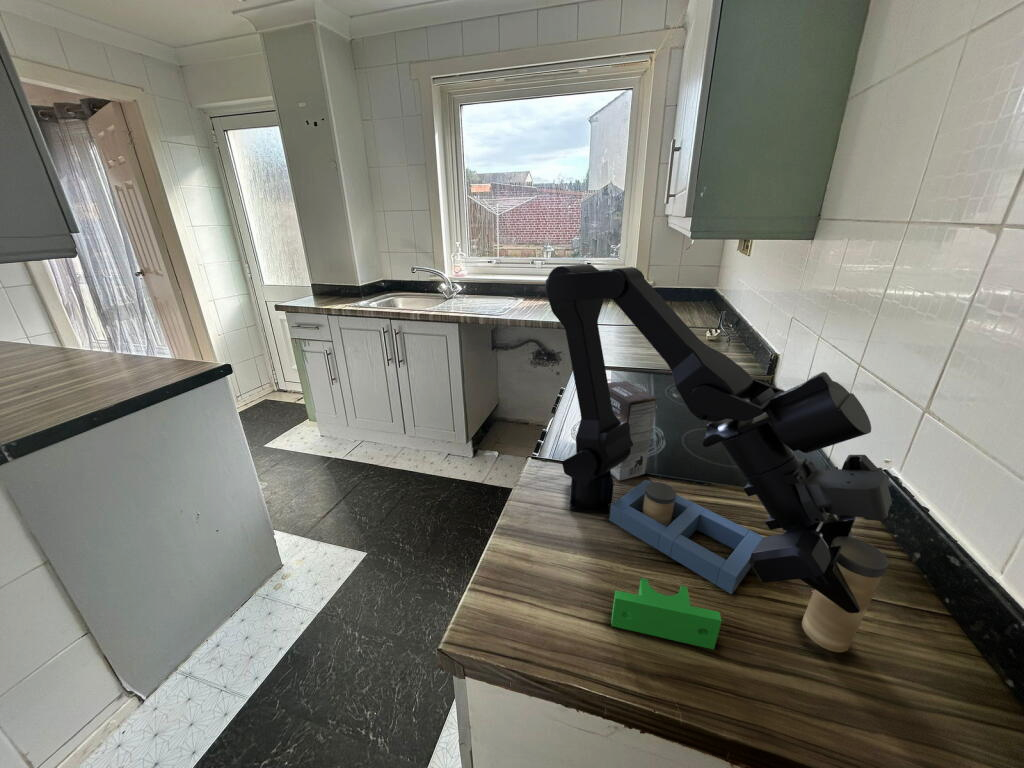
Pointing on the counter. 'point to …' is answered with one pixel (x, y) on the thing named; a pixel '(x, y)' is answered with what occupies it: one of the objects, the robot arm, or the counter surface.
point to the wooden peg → (862, 577)
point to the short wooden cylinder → (659, 502)
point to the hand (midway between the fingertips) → (859, 599)
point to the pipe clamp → (666, 616)
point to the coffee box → (633, 425)
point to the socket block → (678, 532)
